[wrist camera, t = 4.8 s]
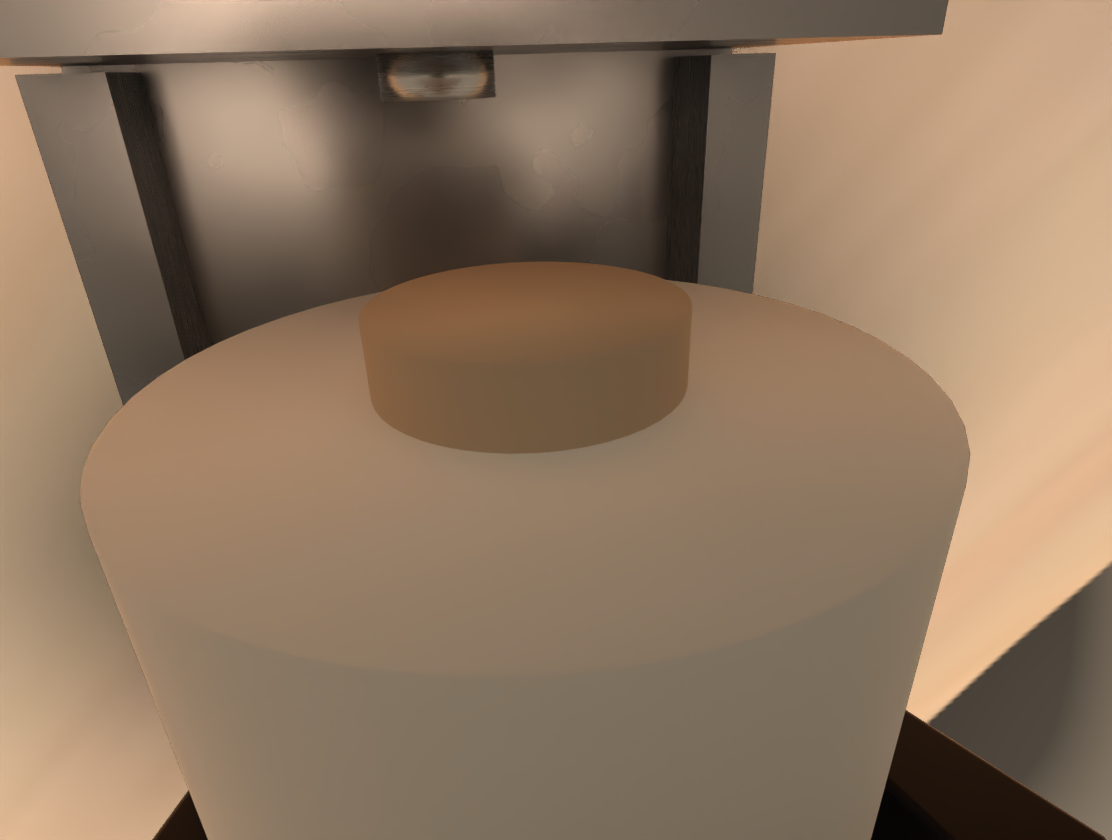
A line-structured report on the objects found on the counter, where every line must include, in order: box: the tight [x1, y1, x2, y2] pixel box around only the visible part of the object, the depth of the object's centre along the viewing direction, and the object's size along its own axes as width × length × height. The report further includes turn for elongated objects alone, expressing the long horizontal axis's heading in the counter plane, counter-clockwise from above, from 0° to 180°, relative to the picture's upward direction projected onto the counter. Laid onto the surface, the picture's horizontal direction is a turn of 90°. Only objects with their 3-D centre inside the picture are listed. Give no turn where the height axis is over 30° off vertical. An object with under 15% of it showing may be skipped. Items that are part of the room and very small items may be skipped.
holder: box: [0, 0, 948, 406], centre depth 12 cm, size 10×16×6 cm, turn 2°
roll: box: [80, 262, 970, 840], centre depth 7 cm, size 10×5×5 cm, turn 2°
